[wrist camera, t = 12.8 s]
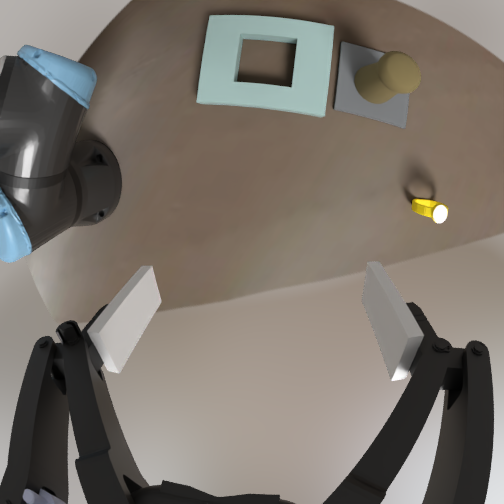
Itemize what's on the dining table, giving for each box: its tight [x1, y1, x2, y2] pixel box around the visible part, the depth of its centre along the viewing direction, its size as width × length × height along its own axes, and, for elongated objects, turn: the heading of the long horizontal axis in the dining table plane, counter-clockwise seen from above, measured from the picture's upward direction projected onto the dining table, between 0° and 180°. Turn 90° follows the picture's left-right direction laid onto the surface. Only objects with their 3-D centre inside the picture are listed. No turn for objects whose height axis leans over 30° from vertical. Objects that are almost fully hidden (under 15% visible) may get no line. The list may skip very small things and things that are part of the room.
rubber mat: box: [334, 42, 409, 129], centre depth 30 cm, size 11×11×1 cm
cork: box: [354, 51, 421, 104], centre depth 25 cm, size 6×6×11 cm
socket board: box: [197, 15, 334, 117], centre depth 30 cm, size 17×14×2 cm
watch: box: [412, 199, 448, 223], centre depth 34 cm, size 6×3×6 cm, turn 93°
